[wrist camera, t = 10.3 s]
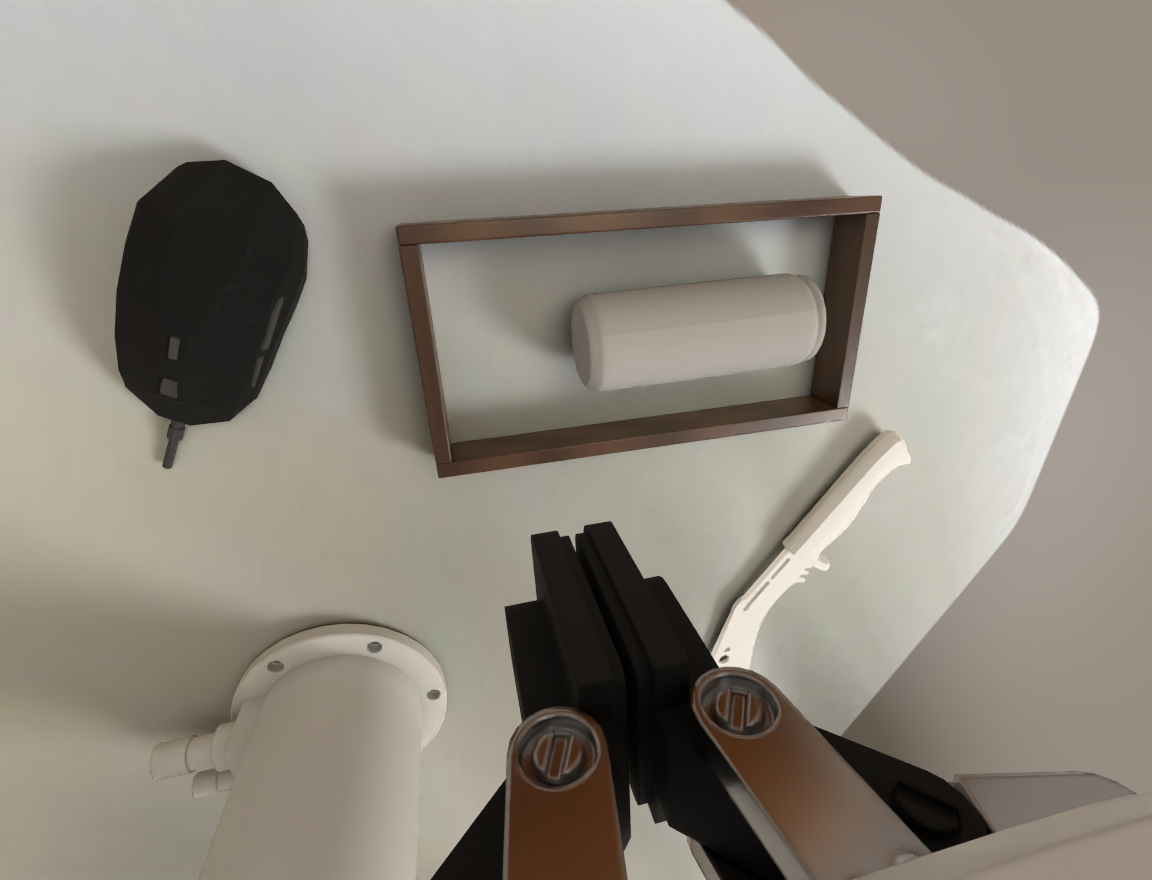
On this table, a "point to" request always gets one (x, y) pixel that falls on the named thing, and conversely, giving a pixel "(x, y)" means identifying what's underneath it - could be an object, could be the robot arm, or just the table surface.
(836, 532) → the knife
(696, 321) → the beverage can
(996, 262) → the table surface
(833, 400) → the walnut frame
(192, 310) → the gaming mouse
